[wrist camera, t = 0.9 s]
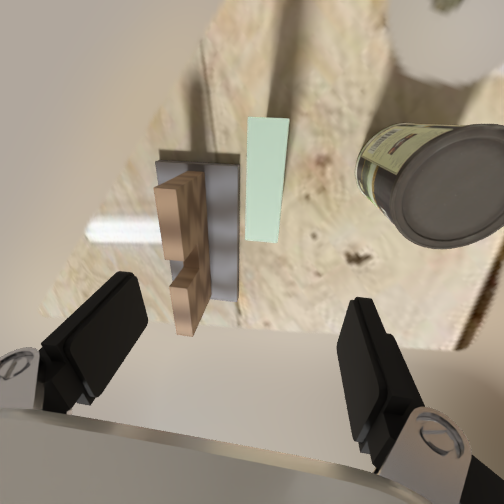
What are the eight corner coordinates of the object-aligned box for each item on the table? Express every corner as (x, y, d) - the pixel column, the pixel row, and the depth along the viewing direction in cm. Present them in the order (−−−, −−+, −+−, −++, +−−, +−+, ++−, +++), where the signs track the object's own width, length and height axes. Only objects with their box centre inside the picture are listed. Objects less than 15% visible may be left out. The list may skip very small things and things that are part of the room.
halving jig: (159, 160, 36) (110, 175, 26) (239, 164, 35) (219, 182, 25) (177, 290, 48) (148, 335, 38) (238, 297, 47) (224, 345, 37)
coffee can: (407, 214, 35) (470, 264, 23) (340, 189, 35) (368, 227, 23) (459, 139, 30) (576, 152, 18) (382, 109, 30) (446, 102, 17)
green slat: (262, 194, 37) (245, 240, 23) (266, 117, 32) (247, 116, 18) (282, 195, 36) (277, 243, 22) (289, 118, 32) (289, 118, 18)
